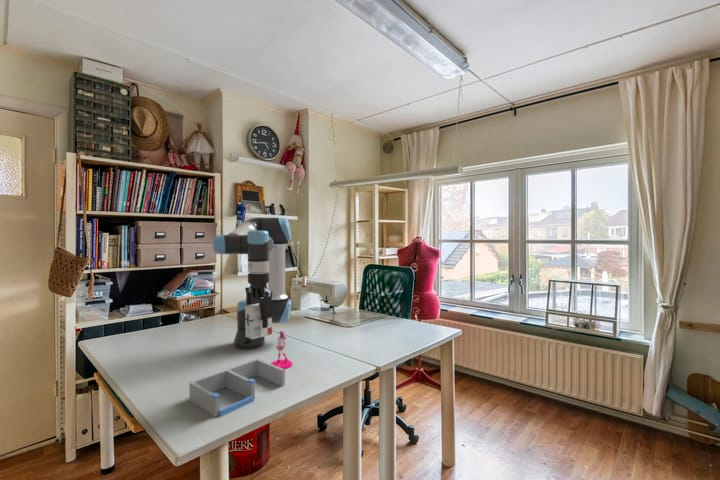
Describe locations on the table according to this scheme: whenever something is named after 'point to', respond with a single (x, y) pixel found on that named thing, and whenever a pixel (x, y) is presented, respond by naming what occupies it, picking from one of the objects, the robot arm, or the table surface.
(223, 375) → the divided organizer tray
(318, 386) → the table surface
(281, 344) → the figurine
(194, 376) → the table surface
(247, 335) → the ink box
